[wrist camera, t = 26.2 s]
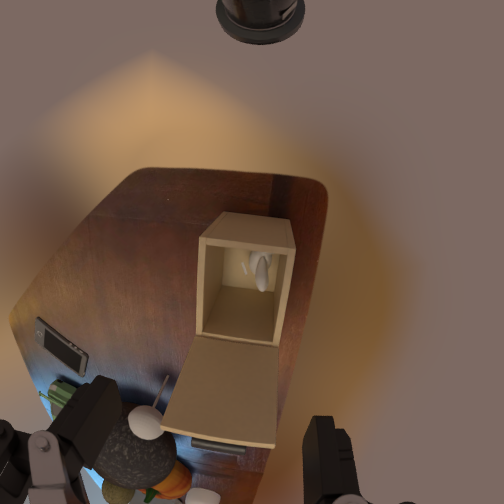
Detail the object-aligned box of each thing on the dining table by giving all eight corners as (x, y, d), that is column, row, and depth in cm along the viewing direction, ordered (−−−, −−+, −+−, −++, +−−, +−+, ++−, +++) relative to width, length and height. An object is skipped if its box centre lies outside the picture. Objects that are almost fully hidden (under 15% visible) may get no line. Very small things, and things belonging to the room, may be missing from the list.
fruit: (112, 473, 70) (99, 502, 56) (107, 461, 67) (92, 493, 53) (140, 484, 70) (129, 515, 56) (138, 474, 67) (125, 507, 53)
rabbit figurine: (259, 281, 39) (277, 296, 31) (231, 274, 38) (243, 289, 31) (270, 238, 39) (291, 243, 31) (242, 231, 38) (257, 234, 30)
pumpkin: (201, 459, 58) (189, 506, 44) (189, 482, 64) (179, 520, 50) (130, 434, 58) (110, 477, 43) (130, 461, 64) (114, 497, 50)
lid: (159, 425, 18) (167, 453, 20) (275, 444, 18) (265, 470, 20) (194, 335, 29) (195, 370, 31) (278, 348, 29) (271, 381, 31)
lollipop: (183, 367, 47) (156, 430, 33) (184, 389, 49) (162, 450, 35) (151, 360, 47) (118, 419, 33) (154, 382, 49) (126, 439, 35)
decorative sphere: (104, 415, 56) (72, 472, 37) (106, 368, 50) (59, 436, 31) (177, 448, 57) (156, 511, 38) (195, 407, 51) (170, 489, 32)
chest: (223, 211, 38) (199, 236, 26) (289, 219, 38) (296, 248, 26) (217, 286, 41) (195, 336, 29) (278, 294, 41) (278, 348, 29)
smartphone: (89, 355, 49) (87, 357, 48) (84, 376, 52) (83, 378, 51) (37, 315, 48) (35, 317, 47) (36, 339, 50) (34, 340, 50)
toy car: (93, 388, 53) (73, 416, 43) (108, 447, 62) (96, 471, 53) (55, 369, 53) (34, 393, 43) (76, 432, 63) (63, 453, 53)
